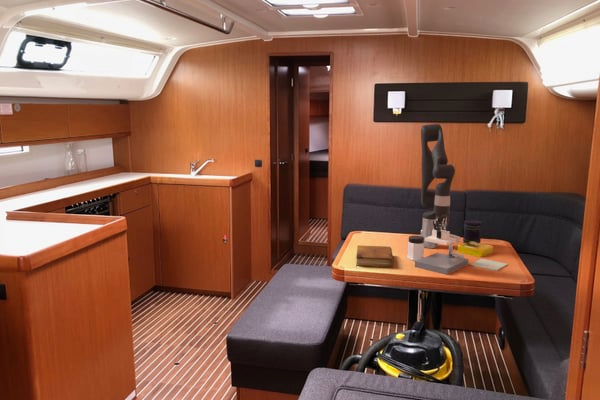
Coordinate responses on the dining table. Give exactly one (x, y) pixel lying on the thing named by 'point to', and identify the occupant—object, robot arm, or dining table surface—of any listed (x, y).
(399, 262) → the dining table surface
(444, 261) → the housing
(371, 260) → the diary
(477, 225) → the storage jar
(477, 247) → the element tile
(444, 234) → the cover
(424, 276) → the dining table surface
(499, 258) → the dining table surface
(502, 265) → the mat
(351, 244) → the dining table surface
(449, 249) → the t key
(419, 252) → the jar
